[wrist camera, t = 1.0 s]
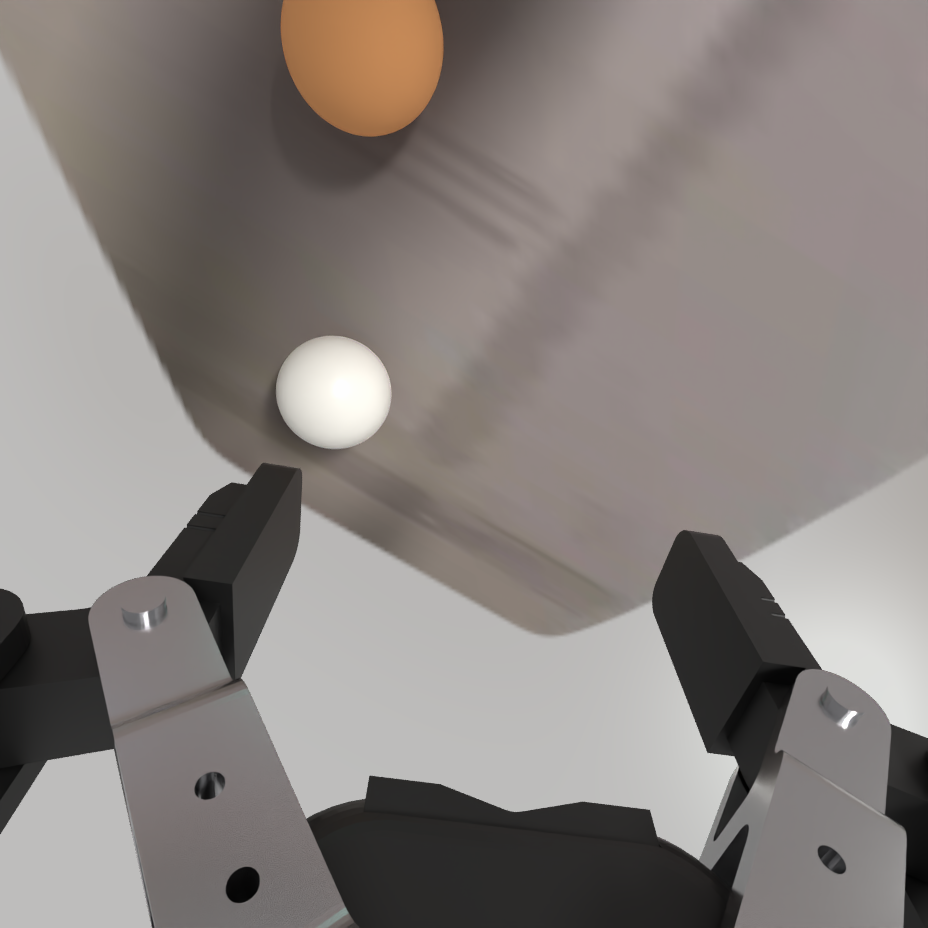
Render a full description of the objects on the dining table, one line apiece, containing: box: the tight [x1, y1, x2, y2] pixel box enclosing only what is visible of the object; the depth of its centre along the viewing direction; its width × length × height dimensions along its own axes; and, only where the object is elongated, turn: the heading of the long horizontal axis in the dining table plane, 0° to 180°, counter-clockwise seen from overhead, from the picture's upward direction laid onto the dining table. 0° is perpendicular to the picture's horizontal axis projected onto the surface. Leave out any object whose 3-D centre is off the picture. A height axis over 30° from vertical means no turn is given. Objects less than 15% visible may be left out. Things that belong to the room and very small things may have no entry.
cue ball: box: [276, 336, 392, 449], centre depth 28 cm, size 6×6×6 cm
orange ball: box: [281, 0, 443, 137], centre depth 20 cm, size 6×6×6 cm
